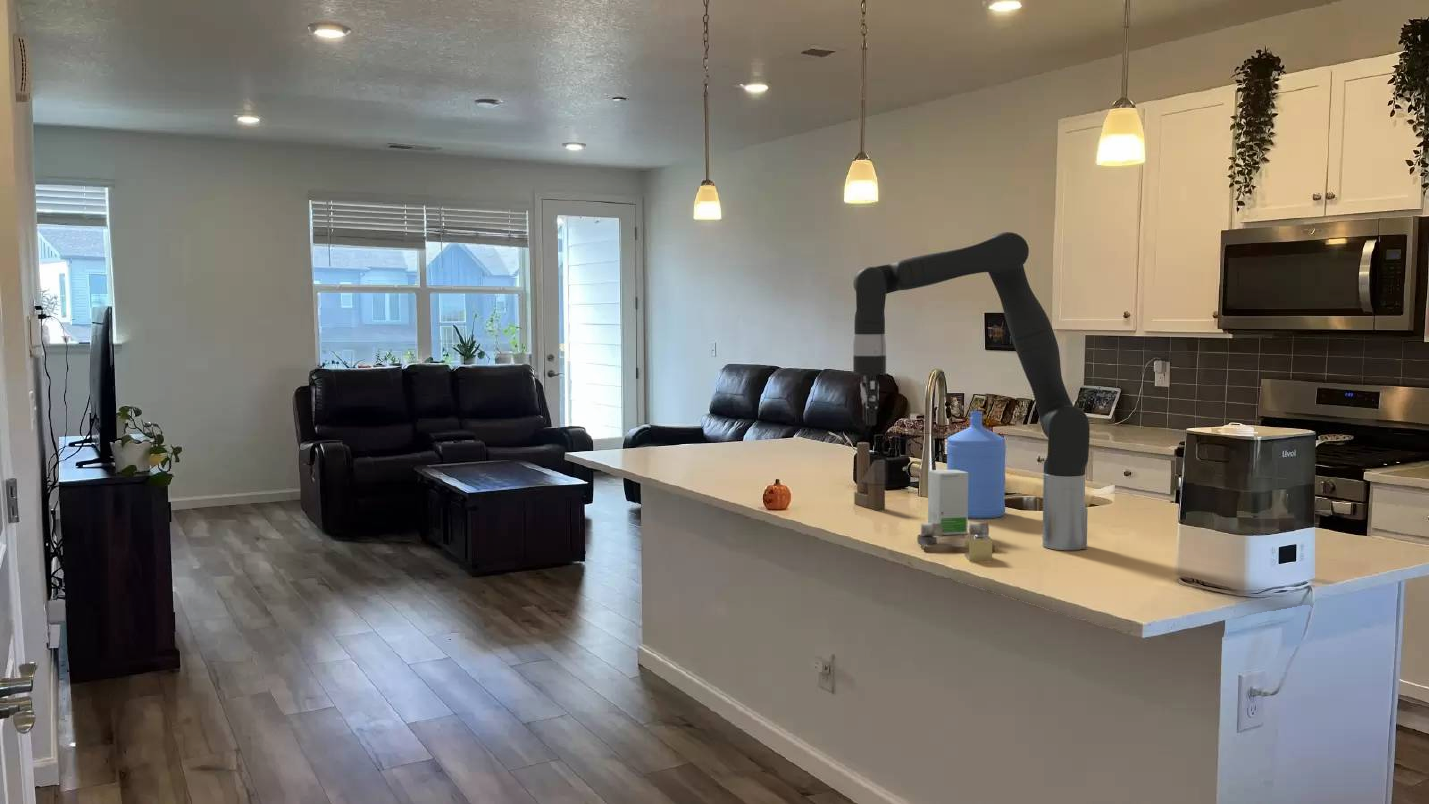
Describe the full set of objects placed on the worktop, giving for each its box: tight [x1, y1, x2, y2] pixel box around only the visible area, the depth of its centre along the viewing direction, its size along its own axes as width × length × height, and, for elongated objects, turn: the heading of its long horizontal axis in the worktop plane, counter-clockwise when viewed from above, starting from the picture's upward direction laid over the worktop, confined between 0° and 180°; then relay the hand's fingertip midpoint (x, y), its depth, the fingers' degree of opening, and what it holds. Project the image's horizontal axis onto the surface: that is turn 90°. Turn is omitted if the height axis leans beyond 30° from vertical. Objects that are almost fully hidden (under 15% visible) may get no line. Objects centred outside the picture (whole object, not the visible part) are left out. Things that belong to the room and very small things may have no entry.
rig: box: [916, 522, 996, 553], centre depth 242 cm, size 16×11×6 cm, turn 87°
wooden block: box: [853, 441, 886, 511], centre depth 293 cm, size 4×11×18 cm, turn 24°
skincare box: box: [927, 469, 969, 536], centre depth 258 cm, size 8×7×16 cm
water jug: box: [946, 410, 1007, 520], centre depth 280 cm, size 16×16×28 cm
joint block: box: [964, 534, 993, 562], centre depth 230 cm, size 5×5×5 cm
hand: (869, 423), depth 241 cm, fingers open, 8 cm apart
